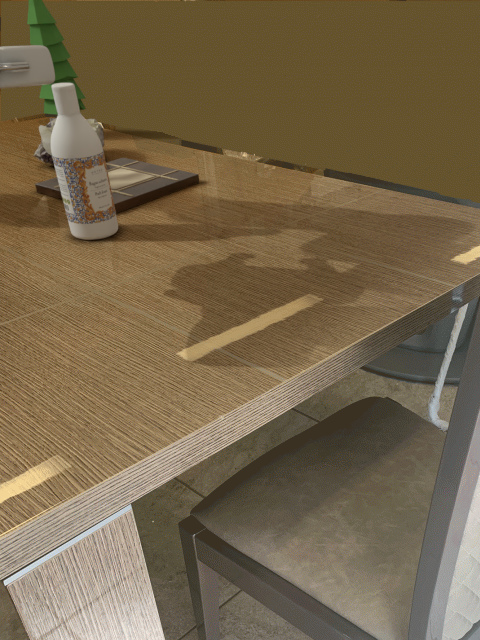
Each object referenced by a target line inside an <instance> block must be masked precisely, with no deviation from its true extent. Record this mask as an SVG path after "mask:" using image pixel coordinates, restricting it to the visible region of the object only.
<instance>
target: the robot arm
mask: <svg viewBox="0 0 480 640" xmlns="http://www.w3.org/2000/svg"><path fill="white" fill-rule="evenodd" d="M54 81H55V72H54V66H53V62H52V58H51V55H50V52H49V50H48V48H47V47H45V46H42V45H31V44H30V45H5V46H4V45H3V46H0V89H15V88H17V89H18V88H26V87H27V88H28V87H36V86H42V85H47V84H51V83H53V82H54Z"/></svg>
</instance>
